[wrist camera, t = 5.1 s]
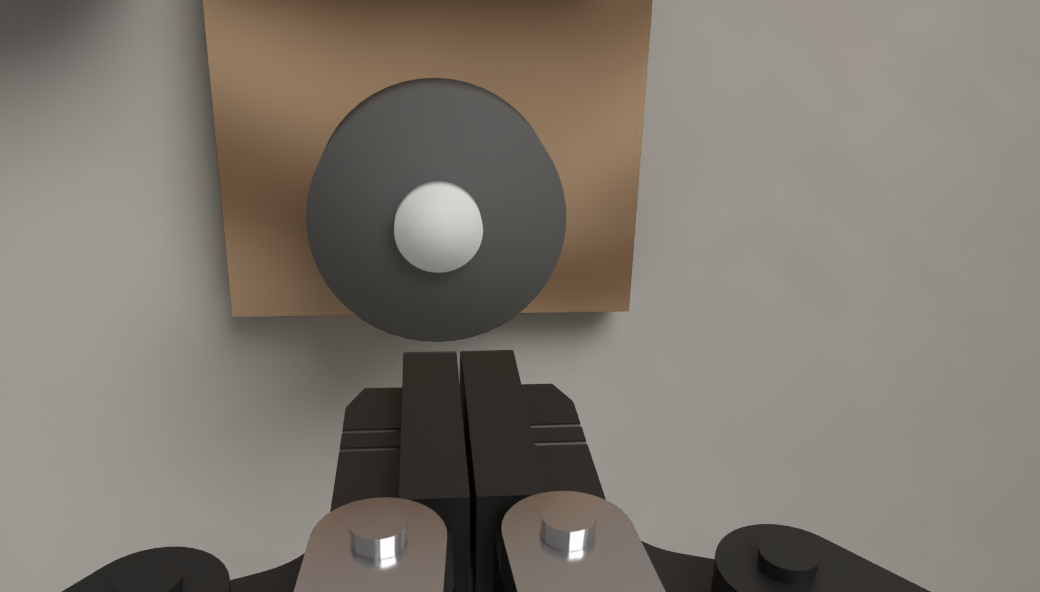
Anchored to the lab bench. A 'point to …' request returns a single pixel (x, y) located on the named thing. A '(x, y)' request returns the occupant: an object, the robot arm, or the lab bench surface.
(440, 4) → the wooden base board
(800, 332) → the lab bench surface
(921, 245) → the lab bench surface
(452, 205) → the wheel
